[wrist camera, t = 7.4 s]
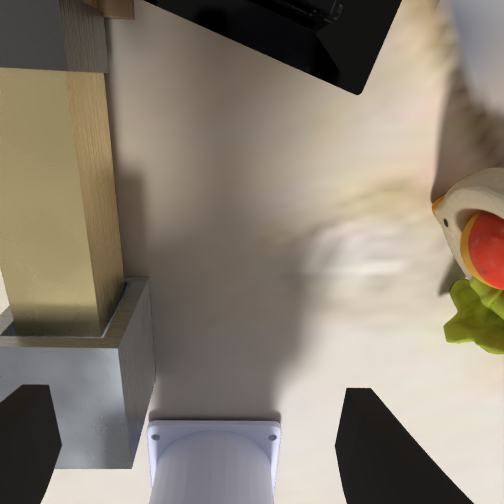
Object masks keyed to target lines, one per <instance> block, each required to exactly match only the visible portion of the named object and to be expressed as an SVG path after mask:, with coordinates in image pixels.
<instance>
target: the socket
mask: <svg viewBox="0 0 504 504" xmlns="http://www.w3.org/2000/svg"><path fill="white" fill-rule="evenodd" d="M97 9H99V10H100V11H102V12H103V14H104V18H117V19H132V20H134V7H133V0H97Z"/></svg>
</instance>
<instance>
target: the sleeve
mask: <svg viewBox="0 0 504 504" xmlns="http://www.w3.org/2000/svg"><path fill="white" fill-rule="evenodd" d="M124 284H125V292H124V294H123V296H122V298H121V300H120V302H119V304H118V306H117V308H116V310H115V311H114V313H113V315H112V317H111V319H110V321H109V323H108V325H107V327H106V329H105V331H104V333H103V334H102V336H101V337H61V336H17V332H16V328H15V324H14V320H13V316H12V312H11V308H10V306H9V307H8V308H7V309H6V310H5V311H4V312H3V313H2V314H1V315H0V402H1V401H3V400H4V399H5V398H6V397H7V396H9V395H10V394H11V393H12V392H14V391H15V390H16V389H17V388H19V387H20V386H21V385H22V384H42V385H49V387H50V392H51V396H52V401H53V405H54V410H55V414H56V419H57V424H58V428H59V433H60V437H61V442H62V447H61V450H60V453H59V456H58V459H57V462H56V465H55V468H54V469H132V466H133V462H134V458H135V454H136V451H137V447H138V443H139V440H140V436H141V432H142V428H143V425H144V421H145V417H146V413H147V410H148V406H149V402H150V398H151V395H152V391H153V387H154V383H155V380H156V373H155V358H154V343H153V328H152V314H151V299H150V284H149V277H130V276H124Z"/></svg>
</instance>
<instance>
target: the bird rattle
mask: <svg viewBox="0 0 504 504" xmlns="http://www.w3.org/2000/svg"><path fill="white" fill-rule="evenodd" d="M432 211H433V213H434V215H435V217H436V218H437V220H438V221H439V223H440V224H441V226H442V229H443V231H444V234H445V237H446V240H447V242H448V245H449V247H450V249H451V251H452V253H453V255H454V257H455V259H456V261H457V262H458V264H459V266H460V267H461V269H462V271H463V272H464V274H465V275H466V277H467V278H468V280H467V279H460V280H457V281H456V282H455V283H454V284H453V286H452V288H451V290H450V295H451V298H452V300H453V302H454V304H455V306H456V308H457V310H458V312H457V314H456V315H455V316H454V317H453V318H452V319H451V320H450V321H448V322H447V323H446V324H445V325H444V332H445V336H446V341H447V342H450V343H463V342H471V341H473V342H475V343H476V344H477V345H478V346H480V347H481V348H482V349H484V350H485V351H487V352H489V353H492V354H500V355H501V354H504V168H487V169H482V170H480V171H478V172H476V173H473V174H471V175H468V176H467V177H465V178H463V179H461V180H459V181H458V182H456V183H455V184H454V185H453V186H452V187H451V188H450V189H449V190H448V192H447V193H446V194H445V195H444V196H442V197H440V198H439V199H437V200H436V201H435V202H434V203H433V205H432Z"/></svg>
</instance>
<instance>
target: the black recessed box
mask: <svg viewBox="0 0 504 504" xmlns="http://www.w3.org/2000/svg"><path fill="white" fill-rule="evenodd" d="M144 1H146V2H149V3H151V4H153V5H155V6H158V7H160V8H162V9H164V10H167V11H169V12H171V13H173V14H176V15H178V16H180V17H182V18H185V19H187V20H189V21H191V22H194V23H196V24H198V25H200V26H203V27H205V28H207V29H209V30H211V31H214V32H216V33H218V34H220V35H223V36H225V37H227V38H229V39H232V40H234V41H236V42H238V43H241V44H243V45H245V46H247V47H250V48H252V49H254V50H256V51H259V52H261V53H263V54H265V55H268V56H270V57H272V58H274V59H276V60H279V61H281V62H283V63H285V64H288V65H290V66H292V67H294V68H297V69H299V70H301V71H303V72H306V73H308V74H310V75H312V76H315V77H317V78H319V79H321V80H324V81H326V82H328V83H330V84H333V85H335V86H337V87H339V88H341V89H344V90H346V91H348V92H350V93H353V94H355V95H359V94H361V93H362V91H363V89H364V86H365V84H366V82H367V79H368V77H369V75H370V73H371V70H372V68H373V66H374V63H375V61H376V59H377V56H378V54H379V52H380V49H381V47H382V45H383V43H384V40H385V38H386V36H387V33H388V31H389V29H390V26H391V24H392V22H393V19H394V17H395V15H396V13H397V10H398V8H399V6H400V3H401V1H402V0H144ZM436 1H437V2H438V4H439V2H440V0H436Z"/></svg>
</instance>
